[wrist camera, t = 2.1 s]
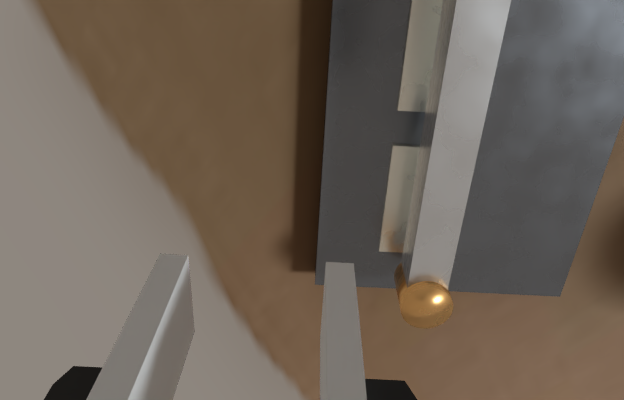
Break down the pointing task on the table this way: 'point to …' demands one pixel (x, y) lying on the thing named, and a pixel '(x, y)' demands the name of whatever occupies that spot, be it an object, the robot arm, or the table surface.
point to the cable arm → (448, 154)
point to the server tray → (493, 145)
